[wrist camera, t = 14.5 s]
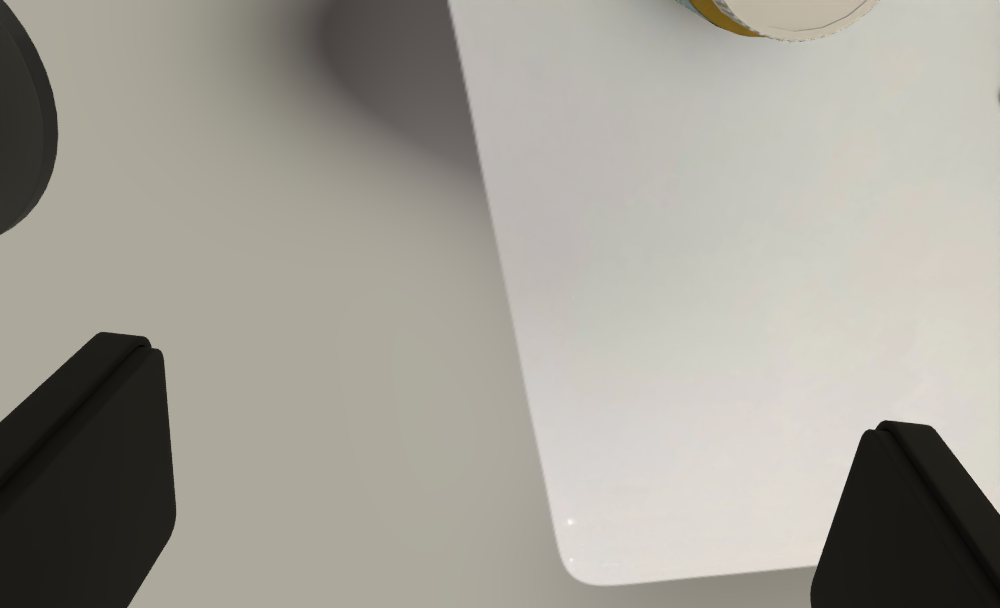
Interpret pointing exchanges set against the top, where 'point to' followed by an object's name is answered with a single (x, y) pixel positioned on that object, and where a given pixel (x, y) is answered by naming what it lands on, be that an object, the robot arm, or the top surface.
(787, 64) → the top surface
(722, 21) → the bottle
